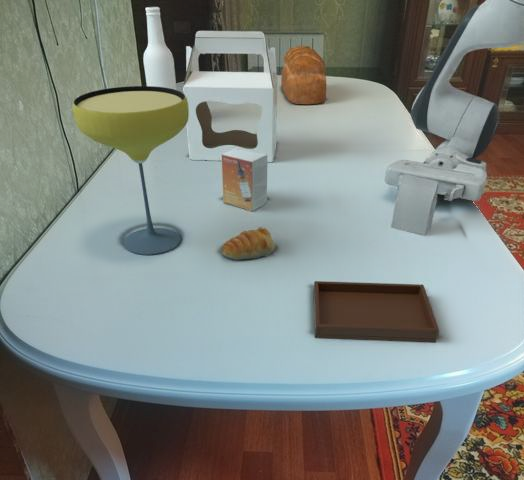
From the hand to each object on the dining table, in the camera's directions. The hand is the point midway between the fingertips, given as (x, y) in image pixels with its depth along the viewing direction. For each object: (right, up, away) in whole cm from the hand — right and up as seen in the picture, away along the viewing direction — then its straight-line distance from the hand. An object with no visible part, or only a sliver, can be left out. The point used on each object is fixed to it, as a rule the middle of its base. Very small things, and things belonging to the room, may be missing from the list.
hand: (424, 192), depth 101 cm
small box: (-36, 0, +9) cm, 37 cm away
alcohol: (-63, +40, +59) cm, 95 cm away
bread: (-18, +61, +85) cm, 106 cm away
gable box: (-40, +21, +35) cm, 57 cm away
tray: (-16, -26, -24) cm, 39 cm away
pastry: (-35, -14, -8) cm, 38 cm away
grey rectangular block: (-3, -7, 0) cm, 8 cm away
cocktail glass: (-53, -11, -4) cm, 55 cm away
